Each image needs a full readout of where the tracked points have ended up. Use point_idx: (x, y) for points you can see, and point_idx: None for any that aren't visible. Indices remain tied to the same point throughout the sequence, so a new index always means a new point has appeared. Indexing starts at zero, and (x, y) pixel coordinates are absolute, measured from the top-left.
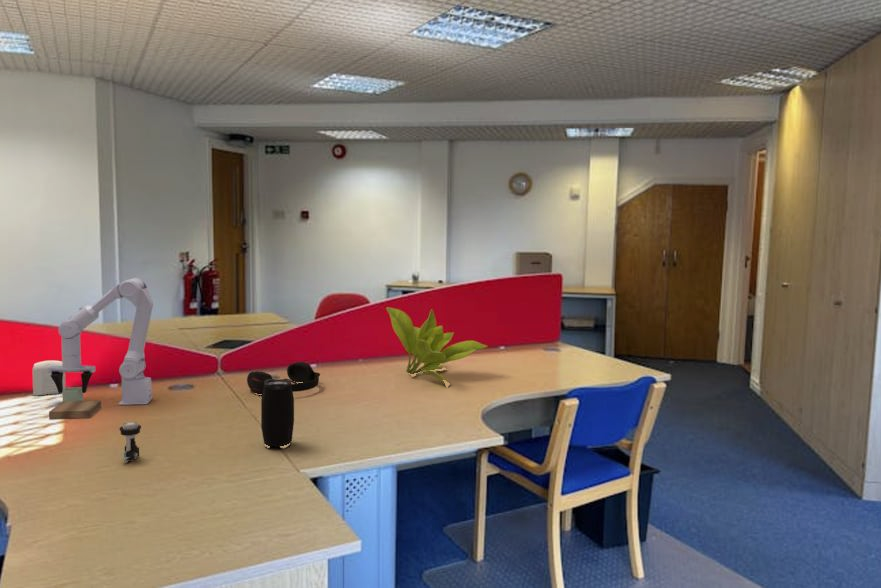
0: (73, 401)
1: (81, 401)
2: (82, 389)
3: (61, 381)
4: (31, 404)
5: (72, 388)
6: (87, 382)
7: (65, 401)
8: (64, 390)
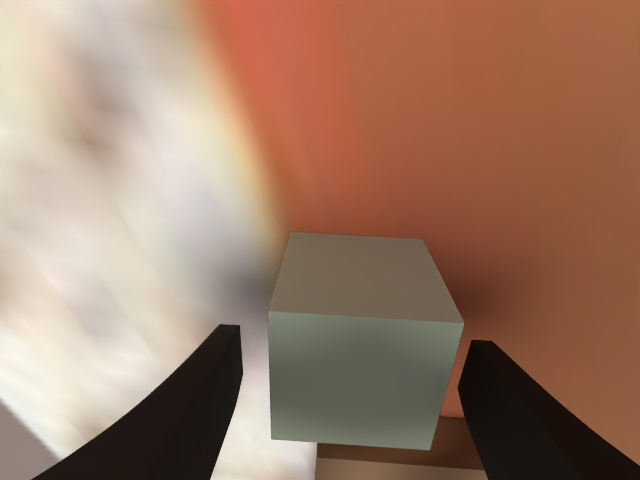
0: (397, 469)
1: (456, 477)
2: (473, 432)
3: (186, 447)
4: (45, 286)
5: (346, 362)
6: (571, 437)
7: (337, 459)
8: (283, 420)
